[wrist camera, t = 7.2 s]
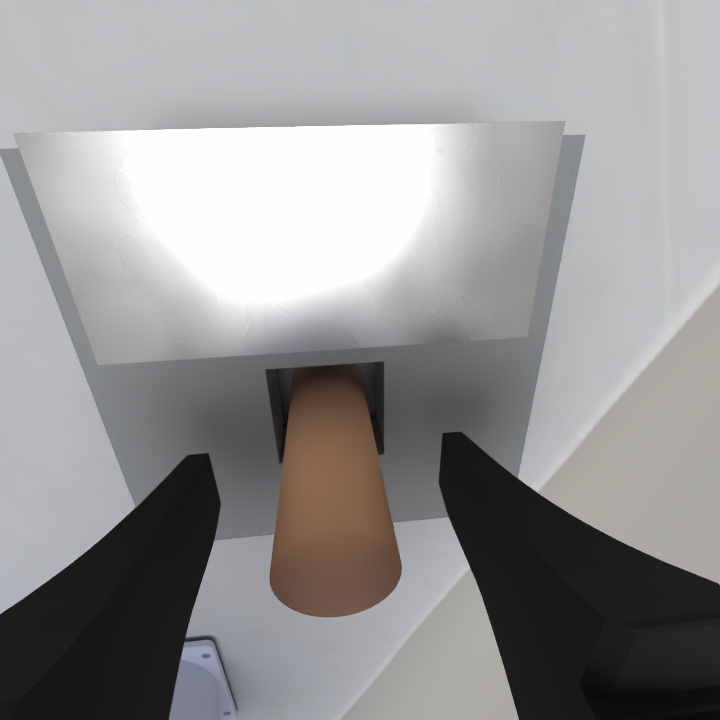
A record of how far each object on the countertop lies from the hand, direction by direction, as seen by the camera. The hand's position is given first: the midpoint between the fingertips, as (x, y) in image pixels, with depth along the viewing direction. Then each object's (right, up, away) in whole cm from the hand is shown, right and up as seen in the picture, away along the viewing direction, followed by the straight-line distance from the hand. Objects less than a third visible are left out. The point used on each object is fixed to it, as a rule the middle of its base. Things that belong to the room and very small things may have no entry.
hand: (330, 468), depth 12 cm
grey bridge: (0, +7, 0) cm, 7 cm away
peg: (0, +2, +5) cm, 5 cm away
